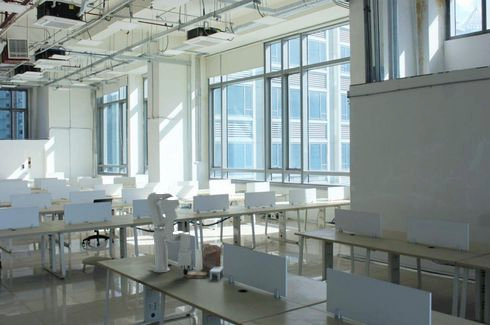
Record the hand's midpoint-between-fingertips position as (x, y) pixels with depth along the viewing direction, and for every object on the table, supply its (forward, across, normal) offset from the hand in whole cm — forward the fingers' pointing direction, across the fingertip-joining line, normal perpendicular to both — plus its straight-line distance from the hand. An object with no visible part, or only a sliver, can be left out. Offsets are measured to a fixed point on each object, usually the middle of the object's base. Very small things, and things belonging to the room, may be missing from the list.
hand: (185, 274), depth 381 cm
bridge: (+1, +23, 0) cm, 23 cm away
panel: (+2, +9, 0) cm, 9 cm away
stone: (+1, +15, +19) cm, 24 cm away
